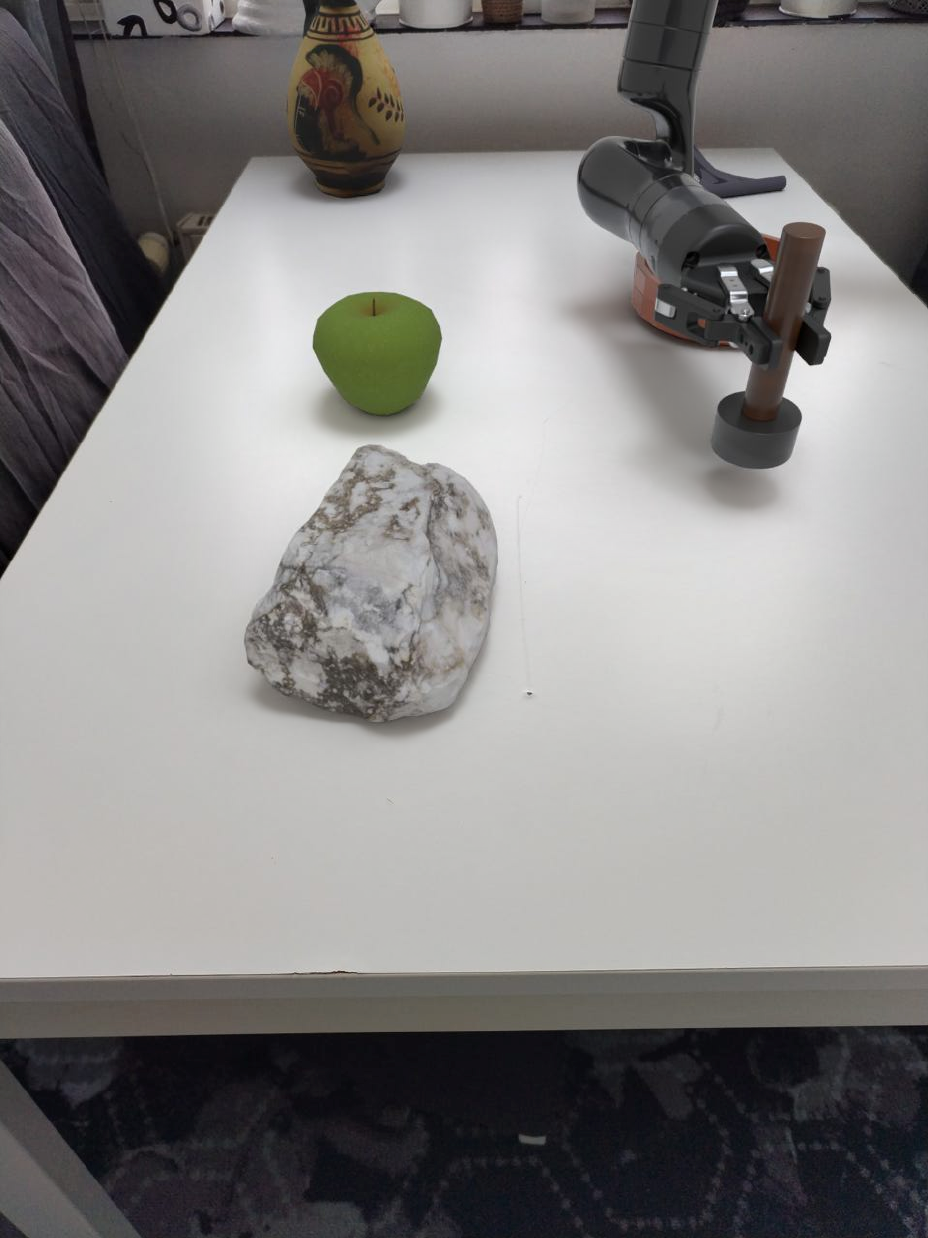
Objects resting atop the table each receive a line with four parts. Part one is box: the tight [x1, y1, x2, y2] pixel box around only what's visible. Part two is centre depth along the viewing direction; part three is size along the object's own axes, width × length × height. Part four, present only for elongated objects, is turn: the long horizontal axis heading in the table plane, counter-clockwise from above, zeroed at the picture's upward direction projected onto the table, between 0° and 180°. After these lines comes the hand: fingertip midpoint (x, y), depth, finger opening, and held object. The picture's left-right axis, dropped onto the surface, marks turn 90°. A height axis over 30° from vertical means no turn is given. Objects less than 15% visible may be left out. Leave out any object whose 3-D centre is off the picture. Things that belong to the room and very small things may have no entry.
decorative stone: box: [243, 443, 499, 723], centre depth 55 cm, size 20×14×10 cm
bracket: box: [694, 142, 787, 198], centre depth 116 cm, size 14×15×3 cm
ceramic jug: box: [285, 0, 406, 199], centre depth 107 cm, size 17×15×30 cm
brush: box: [710, 221, 827, 470], centre depth 59 cm, size 6×6×16 cm
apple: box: [312, 291, 443, 417], centre depth 74 cm, size 11×10×10 cm
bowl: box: [631, 232, 819, 346], centre depth 87 cm, size 18×18×5 cm
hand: (798, 354), depth 57 cm, fingers closed on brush, 2 cm apart
